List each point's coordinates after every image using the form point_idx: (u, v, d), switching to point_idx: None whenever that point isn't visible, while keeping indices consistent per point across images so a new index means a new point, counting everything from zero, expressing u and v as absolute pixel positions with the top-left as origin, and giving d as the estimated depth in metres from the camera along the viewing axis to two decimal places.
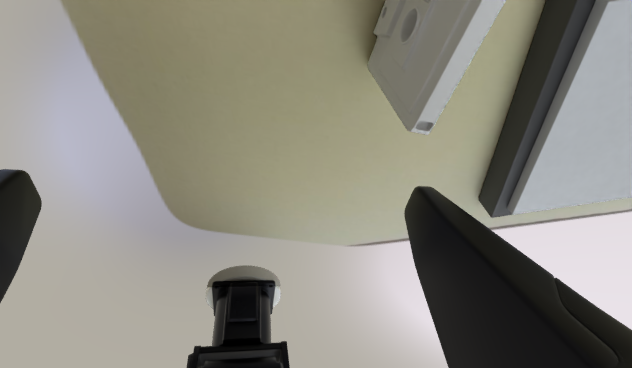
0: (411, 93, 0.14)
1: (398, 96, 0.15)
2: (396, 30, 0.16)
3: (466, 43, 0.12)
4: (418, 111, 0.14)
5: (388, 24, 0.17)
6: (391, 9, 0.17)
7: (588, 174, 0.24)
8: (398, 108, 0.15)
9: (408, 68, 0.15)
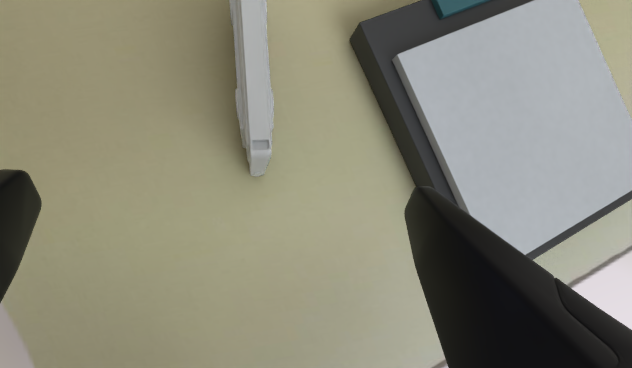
0: None
1: (247, 151, 0.16)
2: None
3: (251, 65, 0.14)
4: (249, 135, 0.14)
5: None
6: None
7: (530, 194, 0.22)
8: None
9: (244, 124, 0.16)
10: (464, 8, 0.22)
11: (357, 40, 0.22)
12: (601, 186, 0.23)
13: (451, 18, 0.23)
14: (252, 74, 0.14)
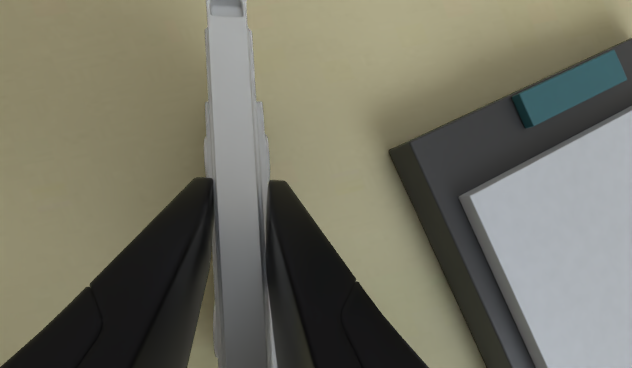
0: None
1: None
2: None
3: (239, 355, 0.07)
4: None
5: None
6: None
7: None
8: None
9: None
10: (561, 112, 0.15)
11: (403, 160, 0.15)
12: None
13: (540, 126, 0.15)
14: None
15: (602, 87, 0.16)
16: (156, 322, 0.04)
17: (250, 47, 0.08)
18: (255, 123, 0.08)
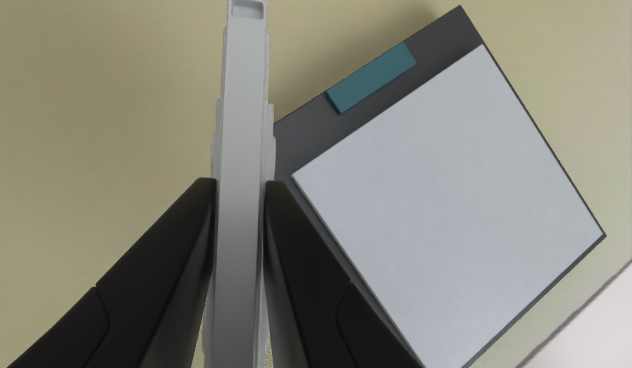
0: None
1: None
2: None
3: (225, 354, 0.07)
4: None
5: None
6: None
7: (466, 292, 0.20)
8: None
9: None
10: (364, 98, 0.20)
11: None
12: (543, 262, 0.21)
13: (352, 111, 0.20)
14: None
15: (395, 73, 0.20)
16: (162, 322, 0.04)
17: (267, 49, 0.08)
18: (264, 124, 0.08)
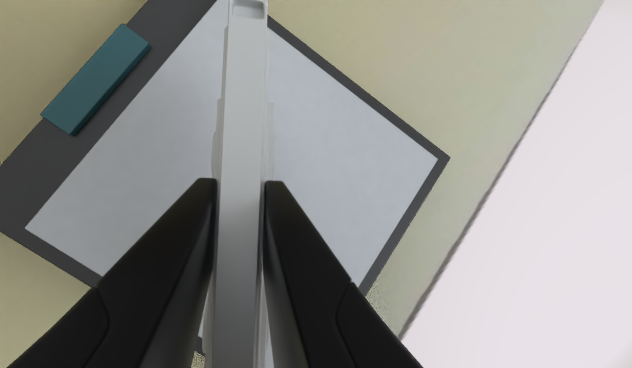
0: None
1: None
2: None
3: (226, 353, 0.07)
4: None
5: None
6: None
7: None
8: None
9: None
10: (95, 106, 0.16)
11: None
12: (376, 215, 0.19)
13: (89, 125, 0.17)
14: None
15: (124, 64, 0.17)
16: (162, 322, 0.04)
17: (267, 49, 0.08)
18: (265, 124, 0.08)
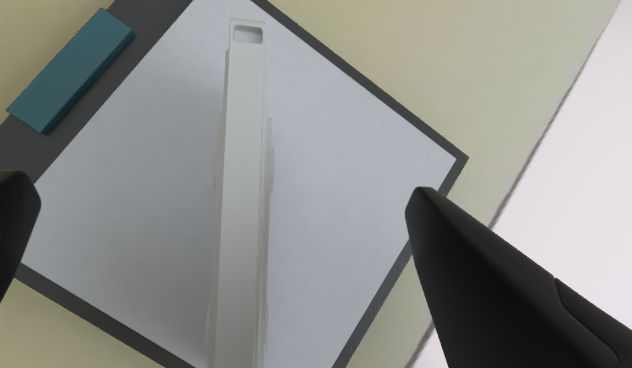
0: None
1: None
2: None
3: (227, 355, 0.07)
4: None
5: None
6: None
7: (294, 297, 0.15)
8: None
9: None
10: (70, 100, 0.14)
11: None
12: (388, 222, 0.16)
13: (63, 123, 0.15)
14: None
15: (103, 53, 0.15)
16: None
17: (266, 70, 0.09)
18: (263, 140, 0.08)
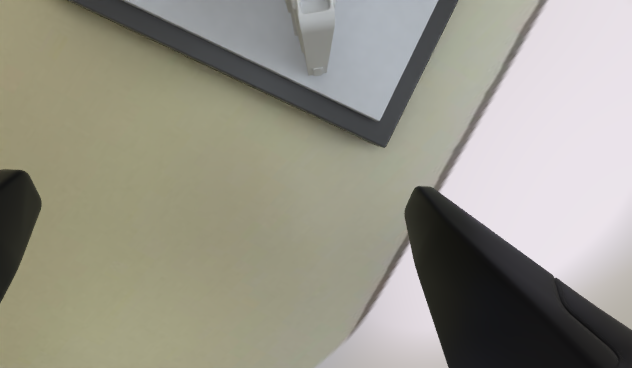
0: None
1: (297, 27, 0.10)
2: None
3: None
4: None
5: None
6: None
7: None
8: None
9: None
10: None
11: None
12: None
13: None
14: None
15: None
16: None
17: None
18: None
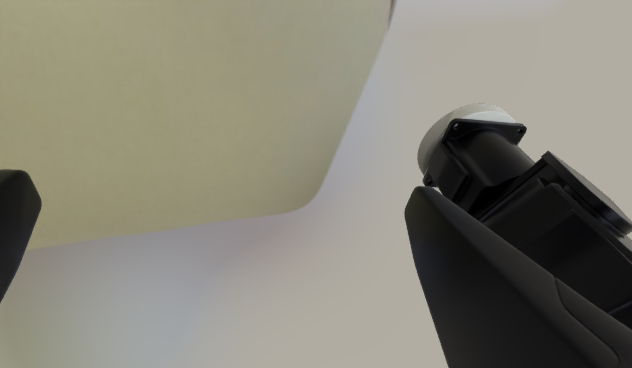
0: None
1: None
2: None
3: None
4: None
5: None
6: None
7: None
8: None
9: None
10: None
11: None
12: None
13: None
14: None
15: None
16: None
17: None
18: None
